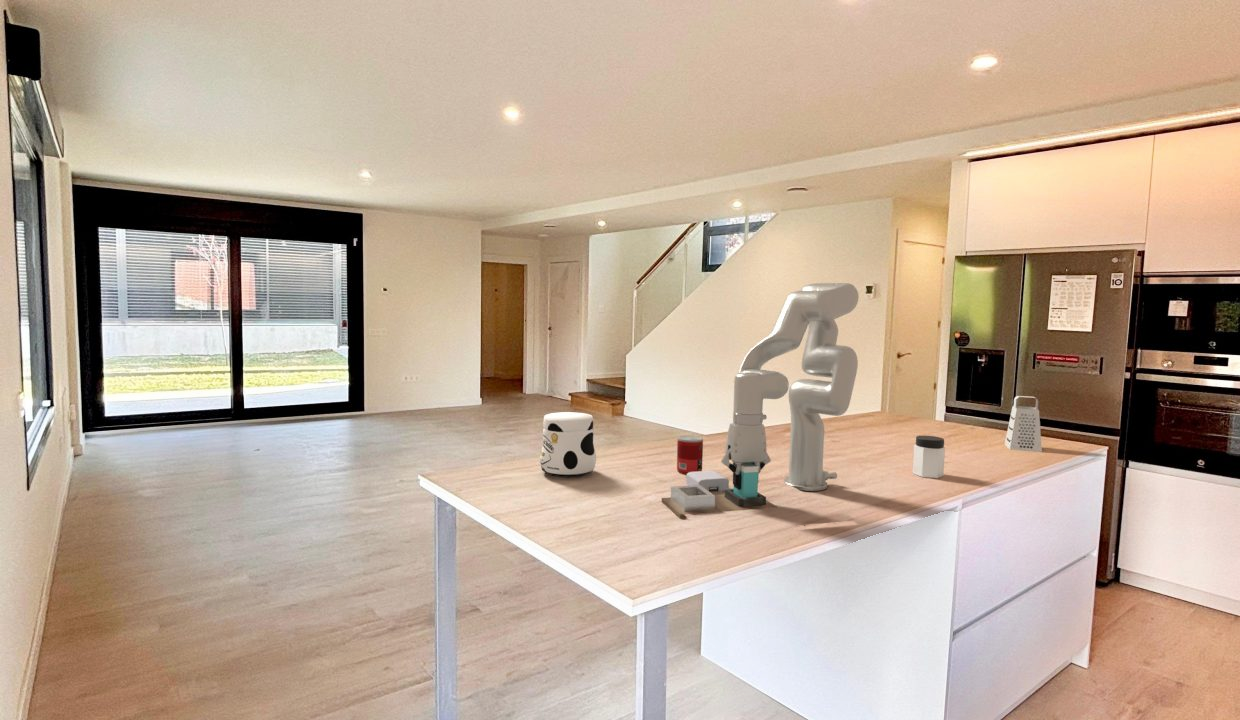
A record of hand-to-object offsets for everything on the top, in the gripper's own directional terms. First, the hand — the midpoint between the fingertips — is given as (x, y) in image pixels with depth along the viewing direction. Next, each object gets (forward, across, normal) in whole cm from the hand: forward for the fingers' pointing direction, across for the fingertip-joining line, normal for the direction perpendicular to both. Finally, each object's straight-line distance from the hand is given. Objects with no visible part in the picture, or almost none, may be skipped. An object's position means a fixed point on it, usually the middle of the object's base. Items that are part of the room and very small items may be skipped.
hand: (745, 486), depth 172 cm
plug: (+4, 0, 0) cm, 4 cm away
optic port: (+5, +15, 0) cm, 16 cm away
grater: (+5, -139, -43) cm, 146 cm away
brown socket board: (+5, +8, 0) cm, 9 cm away
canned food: (+5, +2, -35) cm, 35 cm away
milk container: (+5, +40, -41) cm, 58 cm away
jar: (+5, -72, -16) cm, 74 cm away
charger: (+5, +5, -18) cm, 19 cm away
